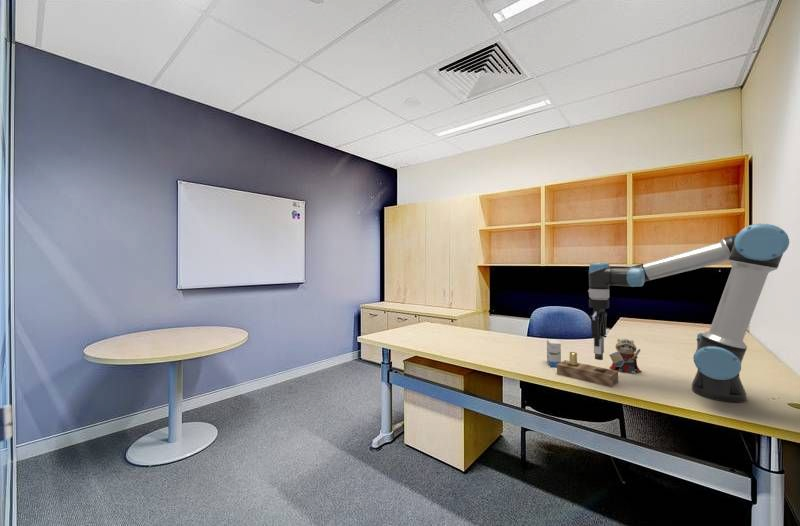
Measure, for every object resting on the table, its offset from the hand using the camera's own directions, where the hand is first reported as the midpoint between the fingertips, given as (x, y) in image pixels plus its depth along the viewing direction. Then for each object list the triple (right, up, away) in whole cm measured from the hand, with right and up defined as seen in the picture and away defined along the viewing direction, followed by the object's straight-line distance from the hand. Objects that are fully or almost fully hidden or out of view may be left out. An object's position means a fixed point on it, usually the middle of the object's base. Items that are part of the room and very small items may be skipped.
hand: (598, 352), depth 144 cm
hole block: (-3, -12, +4) cm, 13 cm away
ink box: (-9, -12, +23) cm, 27 cm away
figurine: (+19, -12, +12) cm, 26 cm away
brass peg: (-7, -12, +8) cm, 16 cm away
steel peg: (0, -3, 0) cm, 3 cm away
